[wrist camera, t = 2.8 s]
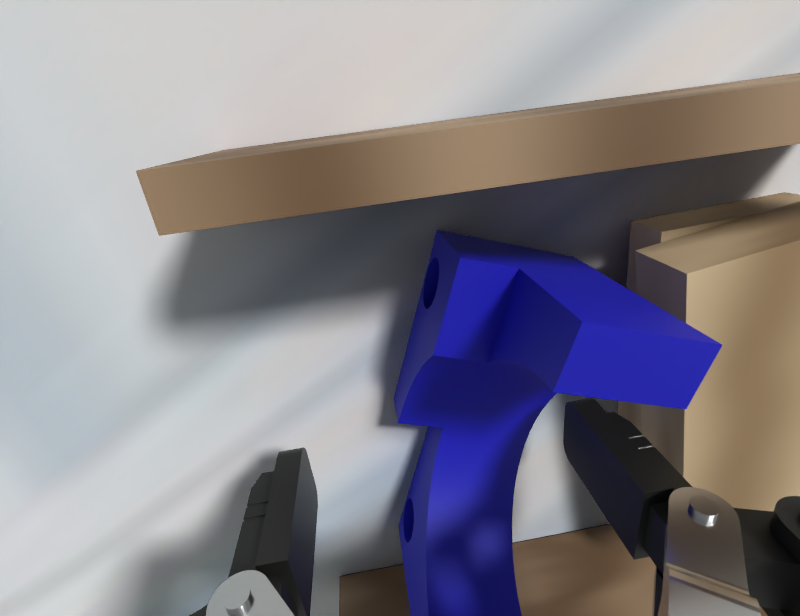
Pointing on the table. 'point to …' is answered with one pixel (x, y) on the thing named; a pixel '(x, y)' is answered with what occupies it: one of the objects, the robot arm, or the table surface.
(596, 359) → the blue curved piece
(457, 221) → the table surface
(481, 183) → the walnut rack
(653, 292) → the upper offcut
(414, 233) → the table surface
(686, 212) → the lower offcut
